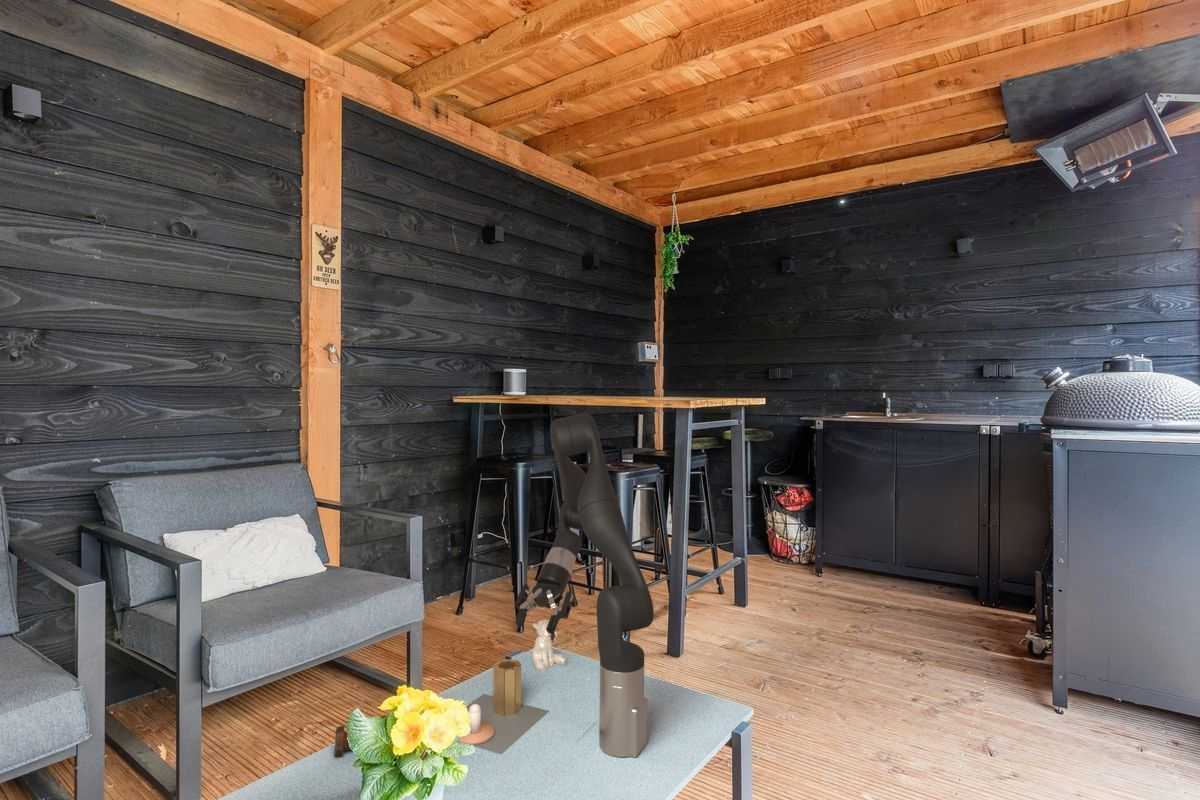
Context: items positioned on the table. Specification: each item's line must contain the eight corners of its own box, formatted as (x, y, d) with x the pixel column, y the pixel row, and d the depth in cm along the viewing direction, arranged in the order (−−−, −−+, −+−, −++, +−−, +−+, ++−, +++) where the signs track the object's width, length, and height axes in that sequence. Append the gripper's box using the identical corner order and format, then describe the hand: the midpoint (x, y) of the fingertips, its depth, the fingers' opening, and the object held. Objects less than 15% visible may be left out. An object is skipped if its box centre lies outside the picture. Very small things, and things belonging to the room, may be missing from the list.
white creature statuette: (539, 675, 166) (539, 629, 166) (520, 664, 172) (520, 620, 172) (568, 665, 172) (568, 620, 172) (548, 655, 179) (549, 612, 178)
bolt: (412, 752, 135) (334, 763, 130) (411, 729, 139) (336, 739, 134) (413, 735, 132) (334, 745, 127) (413, 712, 136) (336, 722, 131)
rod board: (549, 717, 145) (549, 682, 145) (499, 763, 127) (499, 723, 127) (483, 699, 153) (483, 666, 153) (428, 740, 135) (428, 703, 135)
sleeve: (525, 705, 147) (525, 662, 147) (510, 718, 142) (511, 673, 142) (503, 700, 150) (503, 657, 150) (488, 711, 144) (488, 667, 144)
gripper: (528, 558, 166) (502, 616, 156) (577, 565, 160) (553, 626, 150) (538, 573, 171) (514, 631, 161) (586, 580, 165) (564, 641, 155)
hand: (533, 629), depth 155 cm, fingers open, 8 cm apart
